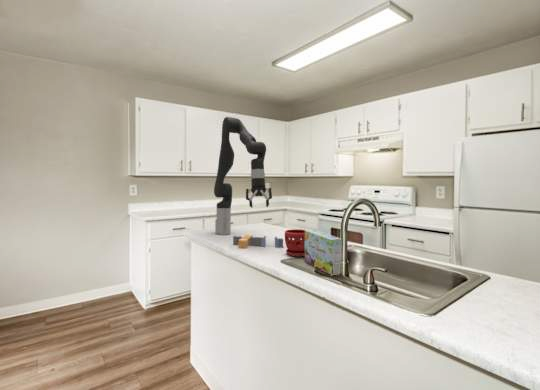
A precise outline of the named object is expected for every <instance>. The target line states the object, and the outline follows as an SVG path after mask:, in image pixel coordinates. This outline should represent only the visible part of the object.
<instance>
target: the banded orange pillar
mask: <svg viewBox="0 0 540 390" xmlns="http://www.w3.org/2000/svg"><path fill="white" fill-rule="evenodd" d="M250 237H253V235H252V234H246V235H244V236H242V237H241V239H239V243H238V245H237V246H238V249H244V250H245V249H248V248H249V246H250Z"/></svg>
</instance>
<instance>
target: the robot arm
mask: <svg viewBox="0 0 540 390" xmlns="http://www.w3.org/2000/svg"><path fill="white" fill-rule="evenodd" d="M221 124H222V125H221V126H222V127H221V140H220V141H221V143H220V151H219V157H218V158H219V159H218V166H217V171H216V172H217V174H216V179H215V182H214V187H213V195H214V196H215V198H222V200H221V201H218V202H217V203H216V218H215V220H214V221H215V223H214V224H215V225H214V226H215V228H214V229H215V231H214V232H215V235H221V236H222V235H223V236H225V235H226V236H227V235H230V234H231V231H232V230H231V228H232V227H231V225H232V224H231V223H232V222H231V221H232V220H231V219H232V218H231V216H232V215H231V214H232V213H231V211H232V210H231V209H232V203H233V202H232V201H233V187H232V184H231V183H226V182H225V178H226V176H227V175H228V173H229V172H230V170H231V169H232V168H233V165H234V160H235V151H234V150H233V147H232V144H231V142H230V141H231V140H230V133H231V134H238V135H239V140H240V142H241V143H242V144H243V145H244V146H245V148H246V151H247V153H248V154H250V155H255V156H256V155H257V157H256V158H252V159H251V160H250V168H251V169H250V170H251V172H250V179H251V181H250V182H251V188H246V189H245V200H246V201H248V203H249V207H250V208H251V209H253V199H254V197H263V198H264V199H265V207H266V208H268V207H269V206H270V200H271V199H273V195H272V187H267V188H266V174H265V163H264V162H265V157H266V154H267V146H266V144H265V143H264V142H262V141H257V139H256V138H255V136H253V135H252V133H250V132H249V131H248V129H247V127H246V126H245V125H244V123H243V122H242V121H241V119H239V118H236V117H230V116H225V117H223V121H222V123H221ZM250 192H251V193H252V195H251V196H250V197H249V193H250ZM266 192H267V193H268V195H267V194H266Z"/></svg>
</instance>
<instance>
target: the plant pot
mask: <svg viewBox="0 0 540 390" xmlns="http://www.w3.org/2000/svg"><path fill="white" fill-rule="evenodd" d="M305 230H306V229H299V228H298V229H294V228H293V229H287V230H285V231H284V242H285V243H284V244H285V247H286V250H285V253H286V254H287V255H290V256H291V257H292V256H293V257H302V256H303V257H305Z"/></svg>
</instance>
